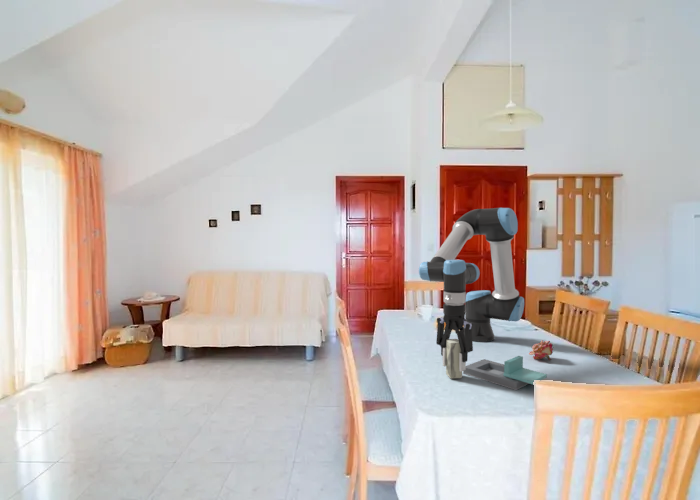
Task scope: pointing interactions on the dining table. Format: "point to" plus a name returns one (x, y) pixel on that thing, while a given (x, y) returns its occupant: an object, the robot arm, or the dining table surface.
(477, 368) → the socket block
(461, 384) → the dining table surface
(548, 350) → the flower
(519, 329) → the dining table surface
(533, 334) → the dining table surface
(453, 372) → the box
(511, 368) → the teal angle bracket
